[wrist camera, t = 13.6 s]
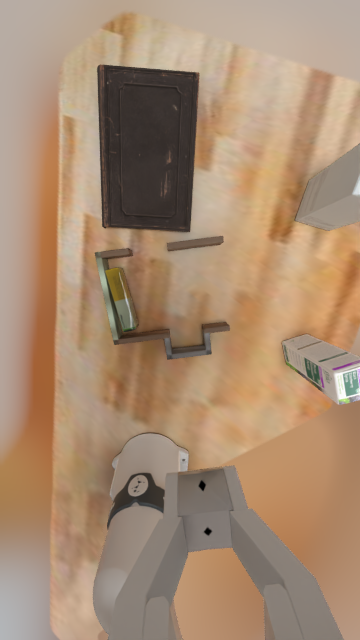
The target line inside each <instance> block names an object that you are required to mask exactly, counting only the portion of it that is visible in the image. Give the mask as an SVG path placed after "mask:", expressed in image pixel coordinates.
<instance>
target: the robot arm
mask: <svg viewBox="0 0 360 640" xmlns="http://www.w3.org/2000/svg"><path fill="white" fill-rule="evenodd" d="M188 457H189V452H188V451H187V450H186V449H183V448H181V447H178V446H177V445H176V444H175V443H174V442H172V441H171V440H170V439H168V438H167V437H165V436H162V435H159V434H152V433H148V434H141V435H138V436H136V437H134V438H132V439H131V440H129V441H128V442H127V443H126V445H125V446H124V448H123V450H122V452H121V453H120V454H119V455H117V456H116V457H115V458H114V459H113V462H112V466H113V468H114V470H115V473H114V477H113V481H112V486H111V490H110V496H111V498H112V501H113V504H112V507H111V509H110V513H109V519H108V524H107V528H108V532H107V536H106V539H105V543H104V547H103V551H102V554H101V558H100V562H99V565H98V569H97V573H96V577H95V580H94V586H93V604H94V610H95V613H96V616H97V618H98V620H99V622H100V624H101V626H102V627H103V629H104V630H105V631H106V633H107V634H108V635H109V636H108V640H183V638H182V635H181V632H180V628H179V625H178V621H177V616H176V612H175V607H174V600H173V598H174V595H175V592H176V589H177V586H178V583H179V580H180V577H181V574H182V571H183V568H184V565H185V562H186V559H187V556H188V552H194V551H201V550H207V549H218V548H233V550H234V552H235V553H236V555H237V556H238V558H239V560H240V561H241V563H242V564H243V566H244V568H245V569H246V571H247V572H248V574H249V576H250V577H251V579H252V580H253V582H254V583H255V585H256V587H257V588H258V590H259V592H260V593H261V595H262V596H263V598H264V623H265V640H344V639H343V637H342V635H341V633H340V630H339V628H338V626H337V624H336V622H335V620H334V617H333V615H332V613H331V611H330V609H329V606H328V604H327V602H326V600H325V598H324V595H323V593H322V591H321V589H320V587H319V585H318V582H317V580H316V578H315V577H314V576H313V575H312V574H311V573H310V572H309V571H308V570H307V568H306V567H305V566H304V565H303V564H302V563H301V562H300V561H299V560H298V559H297V557H296V556H295V555H294V554H293V553H292V552H291V551H290V550H289V549H288V547H287V546H285V544H284V543H283V542H282V541H281V540H280V539H279V538H278V537H277V535H276V534H275V533H274V532H273V531H272V530H271V529H270V528H269V527H268V526H267V524H266V523H265V522H264V521H263V520H262V519H261V518H260V517H259V516H258V515H257V514H256V512H255V511H254V510H253V509H248V506H247V503H246V500H245V497H244V493H243V490H242V487H241V484H240V480H239V477H238V474H237V471H236V468H235V466H225V467H214V468H207V469H200V470H193V471H187V468H188Z"/></svg>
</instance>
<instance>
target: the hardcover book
mask: <svg viewBox="0 0 360 640" xmlns="http://www.w3.org/2000/svg"><path fill="white" fill-rule="evenodd" d="M97 73H98V104H99V134H100V165H101V196H102V226H103V227H104V228H106V227H119V228H136V229H153V230H169V231H186V232H190V223H191V206H192V189H193V172H194V155H195V139H196V122H197V105H198V88H199V73H196V72H184V71H172V70H160V69H147V68H135V67H123V66H111V65H99V66H98V68H97Z"/></svg>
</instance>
